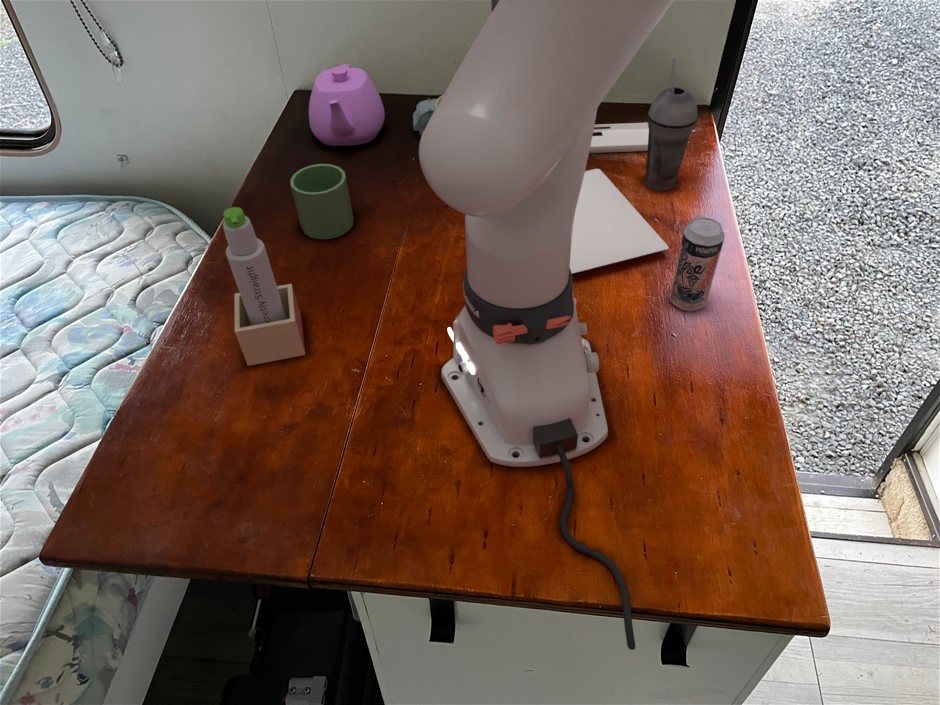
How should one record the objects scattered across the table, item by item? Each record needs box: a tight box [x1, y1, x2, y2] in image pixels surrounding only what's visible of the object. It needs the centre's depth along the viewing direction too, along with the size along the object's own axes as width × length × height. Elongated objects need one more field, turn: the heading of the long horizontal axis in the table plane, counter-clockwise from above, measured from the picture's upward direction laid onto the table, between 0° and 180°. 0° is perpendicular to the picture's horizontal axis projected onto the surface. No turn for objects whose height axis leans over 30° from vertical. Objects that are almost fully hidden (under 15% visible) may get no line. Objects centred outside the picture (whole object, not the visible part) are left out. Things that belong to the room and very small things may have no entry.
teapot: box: [308, 63, 386, 147], centre depth 123 cm, size 20×13×12 cm, turn 2°
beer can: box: [669, 217, 725, 311], centre depth 90 cm, size 5×5×12 cm
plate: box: [570, 168, 670, 275], centre depth 105 cm, size 22×22×2 cm
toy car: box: [412, 97, 438, 137], centre depth 127 cm, size 6×10×5 cm, turn 93°
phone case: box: [589, 122, 649, 154], centre depth 122 cm, size 7×1×15 cm
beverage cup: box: [645, 58, 699, 192], centre depth 106 cm, size 7×7×20 cm
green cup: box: [289, 163, 355, 240], centre depth 106 cm, size 8×8×8 cm
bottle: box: [222, 206, 287, 326], centre depth 85 cm, size 4×4×20 cm
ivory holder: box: [234, 283, 306, 367], centre depth 90 cm, size 7×7×6 cm
